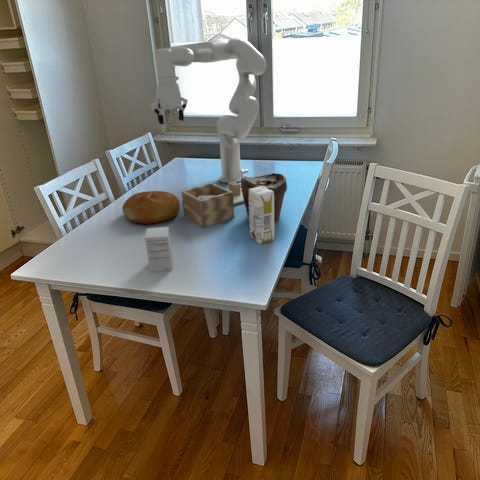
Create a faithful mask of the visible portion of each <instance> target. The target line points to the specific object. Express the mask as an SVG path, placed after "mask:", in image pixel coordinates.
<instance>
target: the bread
mask: <svg viewBox="0 0 480 480" xmlns="http://www.w3.org/2000/svg"><path fill="white" fill-rule="evenodd" d="M180 204H181V203H180V200H179V198H178V196H177V195H175V194H174V193H171V192H168V191H163V190H162V191H161V190H150V191H141V192H137V193H135V194H132V195H131V196H129V197H127V199H126V200H125V201H124V202H123V205H122V209H121V210H122V213H123V215H124V217H126V218H127V220H129V221H131V222H134V223H136V224H147V225H148V224H155V223H156V224H157V223H161V222H165V221H168V220H170V219H173V218H174V217H176V216H177V215H178V214H179V213H180V208H181V205H180Z"/></svg>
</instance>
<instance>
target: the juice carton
mask: <svg viewBox="0 0 480 480" xmlns="http://www.w3.org/2000/svg"><path fill="white" fill-rule="evenodd" d="M248 221H249V234H250V235H249V236H250V238H252V239H253V240H254V241H255V242H256V243H258V244H259V245H261V244H265V243H267V242H272V241H274V240H275V222H274V191H272V190H269V189H267V188H266V187H265V186H260V187H255V188H251V189H249V219H248Z"/></svg>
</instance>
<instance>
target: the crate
mask: <svg viewBox="0 0 480 480" xmlns="http://www.w3.org/2000/svg"><path fill="white" fill-rule="evenodd" d="M180 192H181V200H182V209H183V216H184V218H186V219H188V220H190V221H191V222H193V223H194V224H196V225H198V226H199V227H201V228H204V229H205V228H207V227H210V226H212V225H216V224H218V223H222V222H225V221H227V220H230V219H233V218H235V205H234V202H233V192H232V191H230V190H227V188H225V187H223V186H221V185H218V184H216V183H214V182H210V183H207V184H203V185H200V186H195V187H192V188H188V189H184V190H181V191H180ZM199 196H214V197H211V198H207V199H204V200H201V199H199V198H198V197H199Z"/></svg>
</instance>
